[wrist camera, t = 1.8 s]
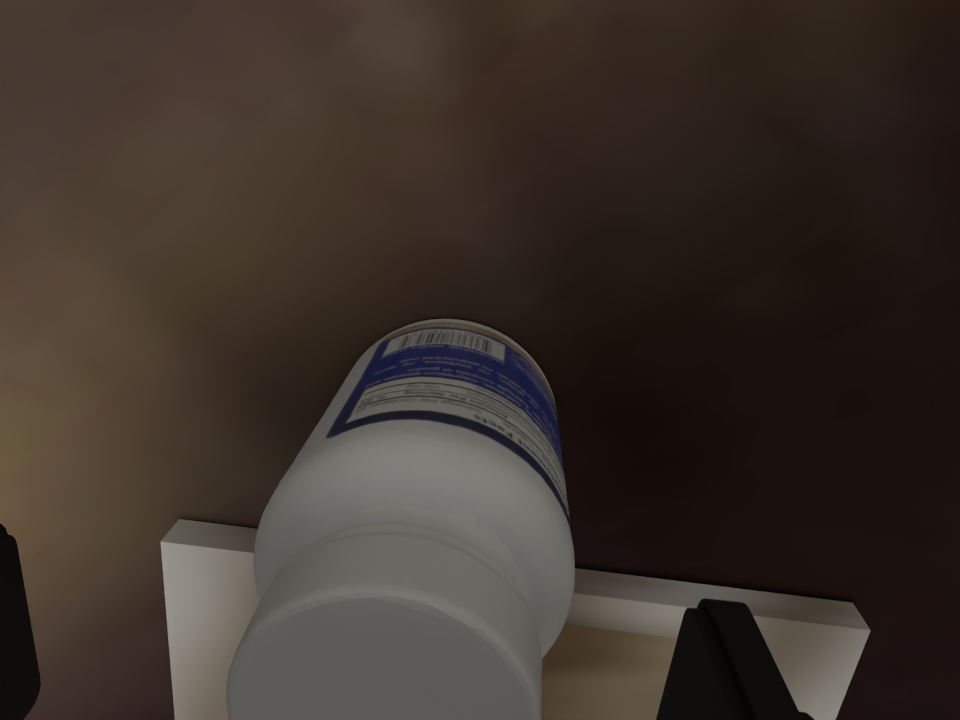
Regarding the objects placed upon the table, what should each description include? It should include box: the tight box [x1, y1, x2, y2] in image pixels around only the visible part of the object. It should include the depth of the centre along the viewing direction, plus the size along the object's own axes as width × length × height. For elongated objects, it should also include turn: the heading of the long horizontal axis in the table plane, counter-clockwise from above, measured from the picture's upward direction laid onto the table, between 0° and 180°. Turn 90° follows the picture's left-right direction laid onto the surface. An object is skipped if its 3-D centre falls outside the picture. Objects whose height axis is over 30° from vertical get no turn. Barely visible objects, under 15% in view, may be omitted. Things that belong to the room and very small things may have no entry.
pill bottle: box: [226, 319, 575, 720], centre depth 12 cm, size 5×5×9 cm
